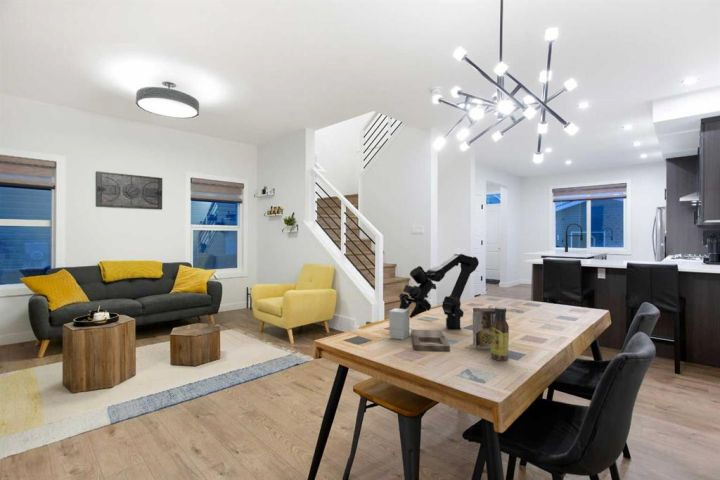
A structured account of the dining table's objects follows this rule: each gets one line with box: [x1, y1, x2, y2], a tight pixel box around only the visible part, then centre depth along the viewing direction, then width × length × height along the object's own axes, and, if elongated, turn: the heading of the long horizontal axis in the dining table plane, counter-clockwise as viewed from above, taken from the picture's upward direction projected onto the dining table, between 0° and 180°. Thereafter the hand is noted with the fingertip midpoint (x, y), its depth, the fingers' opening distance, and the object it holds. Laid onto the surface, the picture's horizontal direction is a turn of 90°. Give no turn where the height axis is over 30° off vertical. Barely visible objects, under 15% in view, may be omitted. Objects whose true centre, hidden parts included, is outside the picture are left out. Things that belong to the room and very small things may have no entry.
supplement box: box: [388, 307, 410, 341], centre depth 166 cm, size 7×7×13 cm
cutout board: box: [410, 329, 451, 352], centre depth 159 cm, size 14×24×2 cm, turn 175°
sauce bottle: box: [490, 306, 510, 361], centre depth 138 cm, size 6×6×20 cm
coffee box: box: [472, 307, 495, 350], centre depth 152 cm, size 9×6×16 cm
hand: (404, 315), depth 168 cm, fingers open, 9 cm apart
